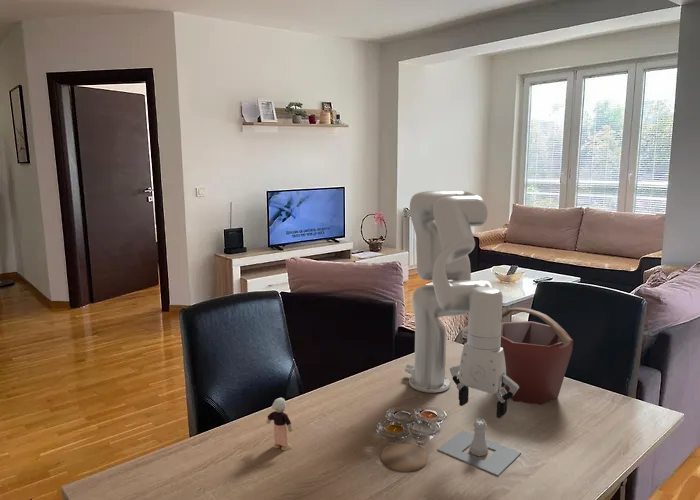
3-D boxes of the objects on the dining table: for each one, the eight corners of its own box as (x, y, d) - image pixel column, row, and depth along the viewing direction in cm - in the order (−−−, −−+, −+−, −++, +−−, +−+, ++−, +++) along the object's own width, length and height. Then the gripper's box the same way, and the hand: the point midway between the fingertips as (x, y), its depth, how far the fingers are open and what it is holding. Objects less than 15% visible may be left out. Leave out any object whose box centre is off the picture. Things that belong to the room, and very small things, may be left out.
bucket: (474, 380, 170) (477, 304, 166) (532, 370, 178) (536, 297, 173) (524, 415, 148) (529, 328, 143) (587, 402, 155) (595, 319, 150)
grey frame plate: (437, 450, 131) (437, 449, 131) (462, 431, 140) (462, 430, 140) (497, 476, 120) (498, 475, 120) (521, 453, 129) (521, 452, 129)
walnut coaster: (371, 459, 127) (371, 457, 127) (399, 440, 135) (399, 438, 135) (409, 477, 120) (409, 475, 120) (436, 456, 128) (436, 454, 128)
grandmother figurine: (297, 444, 133) (296, 397, 131) (291, 453, 130) (290, 404, 127) (270, 439, 136) (268, 392, 134) (262, 447, 132) (261, 399, 130)
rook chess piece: (488, 457, 127) (490, 426, 126) (469, 455, 128) (470, 424, 127) (487, 447, 132) (489, 417, 130) (469, 445, 133) (470, 415, 131)
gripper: (443, 336, 127) (441, 404, 130) (512, 353, 116) (509, 427, 119) (459, 329, 133) (457, 394, 136) (526, 344, 122) (523, 415, 124)
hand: (481, 410), depth 127 cm, fingers open, 9 cm apart
